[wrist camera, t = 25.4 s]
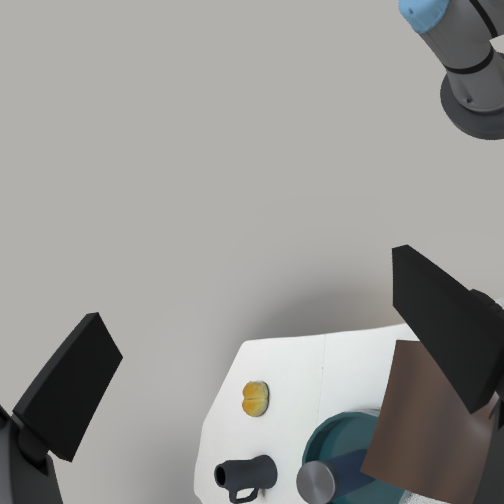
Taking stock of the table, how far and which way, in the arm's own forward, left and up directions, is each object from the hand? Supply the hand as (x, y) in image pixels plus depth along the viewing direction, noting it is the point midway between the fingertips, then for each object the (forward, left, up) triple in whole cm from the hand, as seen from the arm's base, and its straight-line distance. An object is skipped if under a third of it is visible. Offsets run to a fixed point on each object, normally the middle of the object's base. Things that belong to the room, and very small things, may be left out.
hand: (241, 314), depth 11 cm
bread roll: (+45, +18, -33) cm, 58 cm away
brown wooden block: (-4, +6, -33) cm, 34 cm away
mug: (+35, +36, -33) cm, 60 cm away
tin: (+12, +21, -32) cm, 40 cm away
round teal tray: (+12, +21, -33) cm, 41 cm away
